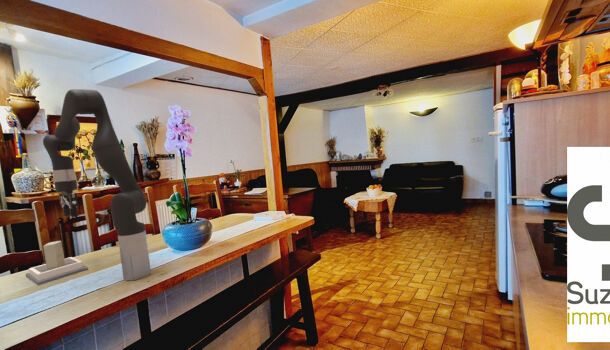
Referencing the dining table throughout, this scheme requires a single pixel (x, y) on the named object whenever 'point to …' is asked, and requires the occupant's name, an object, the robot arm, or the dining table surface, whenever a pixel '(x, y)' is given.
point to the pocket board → (55, 271)
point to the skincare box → (54, 255)
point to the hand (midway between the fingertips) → (70, 216)
